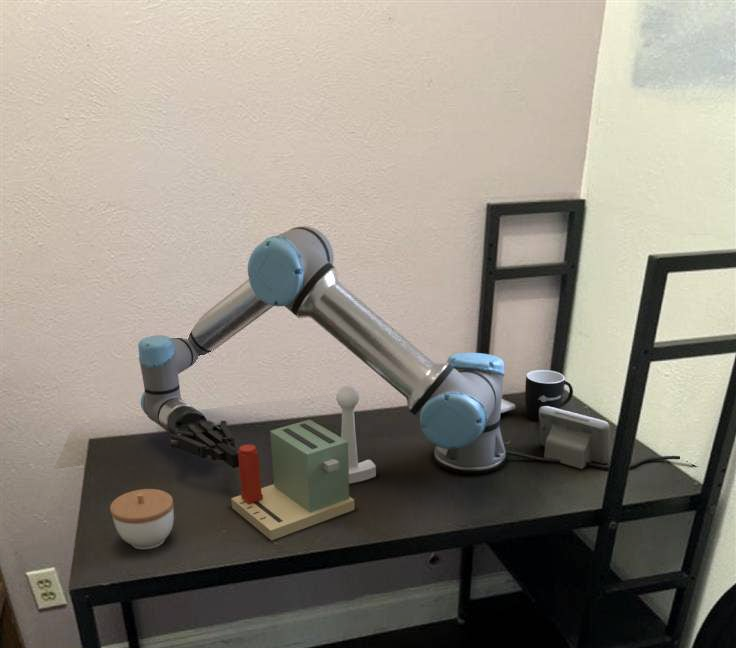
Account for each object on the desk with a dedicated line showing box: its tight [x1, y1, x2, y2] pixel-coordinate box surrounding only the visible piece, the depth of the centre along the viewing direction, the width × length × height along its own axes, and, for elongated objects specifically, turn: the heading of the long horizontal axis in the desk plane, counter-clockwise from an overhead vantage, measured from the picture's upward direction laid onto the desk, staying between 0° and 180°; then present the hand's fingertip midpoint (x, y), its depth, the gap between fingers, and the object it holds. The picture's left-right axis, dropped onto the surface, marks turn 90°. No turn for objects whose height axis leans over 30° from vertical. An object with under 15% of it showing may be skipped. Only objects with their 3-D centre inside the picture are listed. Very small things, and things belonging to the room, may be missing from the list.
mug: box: [524, 369, 574, 422], centre depth 186 cm, size 12×9×10 cm
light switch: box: [501, 398, 517, 414], centre depth 189 cm, size 10×10×5 cm
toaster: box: [230, 419, 356, 541], centre depth 146 cm, size 16×18×14 cm
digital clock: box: [538, 406, 611, 470], centre depth 166 cm, size 16×9×11 cm, turn 39°
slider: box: [237, 444, 263, 504], centre depth 146 cm, size 3×3×11 cm
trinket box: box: [109, 488, 175, 550], centre depth 138 cm, size 11×11×9 cm
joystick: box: [335, 385, 377, 484], centre depth 158 cm, size 11×8×20 cm
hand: (236, 461), depth 150 cm, fingers closed
